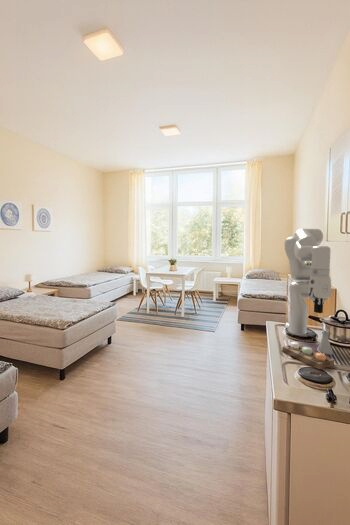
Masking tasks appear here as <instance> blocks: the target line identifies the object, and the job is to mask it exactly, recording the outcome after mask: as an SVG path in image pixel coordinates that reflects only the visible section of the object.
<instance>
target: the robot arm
mask: <svg viewBox="0 0 350 525" xmlns="http://www.w3.org/2000/svg"><path fill="white" fill-rule="evenodd" d="M323 239H324V234H323V232H322V230H321V229H319V228H300V229H297V230H296V231H295V233H294V235H293V236H289V237H287V238H286V239H285V240H284V251H285V254H286V256H287V259H288V262H289V272H290V278H291V279H292V280H293V282H291V283H290V285H289V286H288V287H289V288H288V290H289V299H290V302H289V319H288V320H289V321H288V323H285V324H284V328H287V330H289V331H290V332H292V333H294V334H301V335H303V334H306V333H308V314H309V304H308V303H307V302H306V300H305V299H309V301H312V302H313V304H314V305H313V307H314V308H313V309H314V310H313V312H314V313H317V314H323V313H324V304H325V301H326V300H329V298H331V297H332V280H331V276H330V274H331V273H330V272H331V271H330V270H331V268H330V265H331V247H329V246H327V245H321V243H322V242H323ZM305 262H310V263H311V265H309V264H308V265H307V264H306V263H305Z"/></svg>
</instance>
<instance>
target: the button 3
mask: <svg viewBox="0 0 350 525" xmlns="http://www.w3.org/2000/svg"><path fill="white" fill-rule="evenodd" d="M326 357H327V355H325V354H323V353H319V352H317V353H316V357H315V359H316V360H318V361H320V362H325V361H326Z"/></svg>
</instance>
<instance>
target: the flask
mask: <svg viewBox="0 0 350 525" xmlns="http://www.w3.org/2000/svg"><path fill="white" fill-rule="evenodd" d="M321 335H322V336H321V337H322V338H321V339H320V342H319V344H318V346H317V348H318V350H319V351H320V352H321V353H324V354H326V356H330V355H331V356H333V350H332V346H331V343H330V340H329V335H330V332H327V331H322V332H321Z"/></svg>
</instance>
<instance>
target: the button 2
mask: <svg viewBox="0 0 350 525" xmlns="http://www.w3.org/2000/svg"><path fill="white" fill-rule="evenodd" d="M312 350H313V349H312V348H311V347H308V346H303V348H302V353H303V354H305V355H307V356H309V355H312Z"/></svg>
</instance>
